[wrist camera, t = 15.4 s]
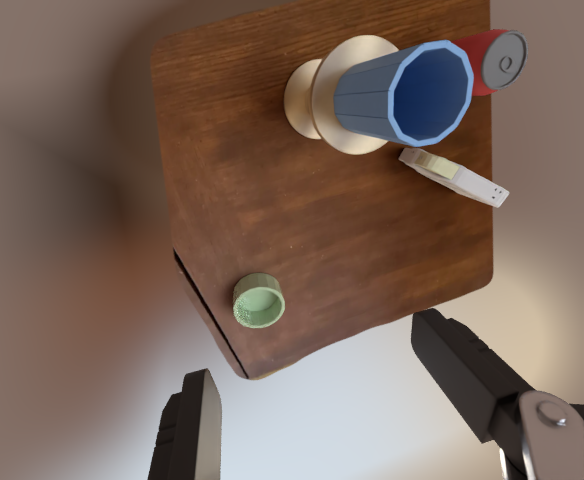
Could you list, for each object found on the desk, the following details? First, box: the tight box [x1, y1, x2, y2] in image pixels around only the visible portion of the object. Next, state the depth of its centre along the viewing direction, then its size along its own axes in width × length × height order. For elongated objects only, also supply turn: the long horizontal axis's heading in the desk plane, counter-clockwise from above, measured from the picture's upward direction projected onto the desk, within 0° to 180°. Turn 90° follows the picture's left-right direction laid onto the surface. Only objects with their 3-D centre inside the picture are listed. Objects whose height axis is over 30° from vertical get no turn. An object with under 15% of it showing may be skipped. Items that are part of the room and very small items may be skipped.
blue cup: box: [333, 40, 474, 147], centre depth 22 cm, size 6×6×10 cm
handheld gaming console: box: [399, 148, 509, 207], centre depth 43 cm, size 11×3×15 cm
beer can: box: [451, 29, 528, 96], centre depth 35 cm, size 7×7×12 cm
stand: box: [284, 35, 399, 154], centre depth 33 cm, size 10×10×15 cm
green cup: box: [233, 273, 285, 328], centre depth 49 cm, size 9×9×4 cm
